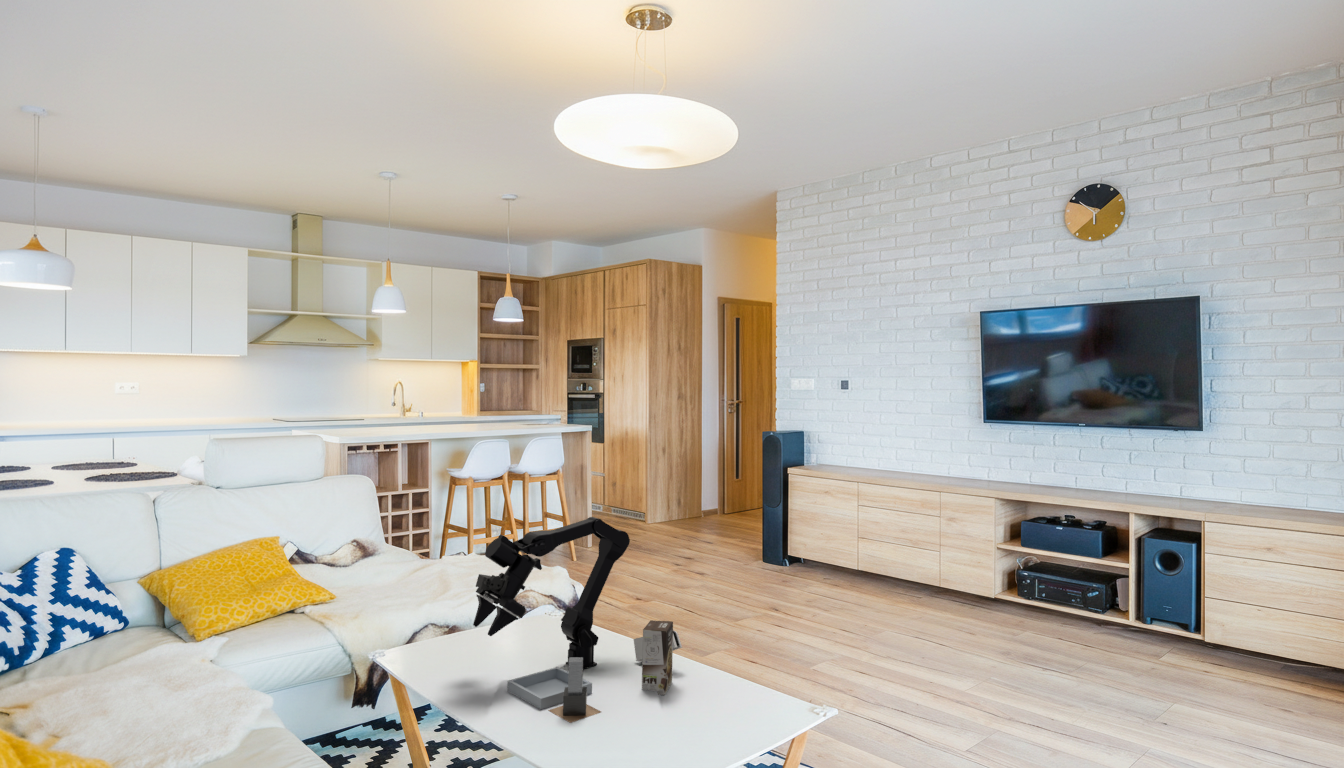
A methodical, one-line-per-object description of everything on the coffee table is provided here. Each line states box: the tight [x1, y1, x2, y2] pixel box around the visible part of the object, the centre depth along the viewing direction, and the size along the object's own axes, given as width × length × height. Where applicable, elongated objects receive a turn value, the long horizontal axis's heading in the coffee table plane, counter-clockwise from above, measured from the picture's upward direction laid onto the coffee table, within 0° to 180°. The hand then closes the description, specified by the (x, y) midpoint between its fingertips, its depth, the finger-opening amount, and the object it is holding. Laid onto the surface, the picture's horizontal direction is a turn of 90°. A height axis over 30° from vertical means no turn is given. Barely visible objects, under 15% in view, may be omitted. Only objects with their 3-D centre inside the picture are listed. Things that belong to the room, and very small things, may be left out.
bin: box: [506, 666, 593, 710], centre depth 192 cm, size 15×15×4 cm
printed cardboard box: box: [633, 629, 683, 662], centre depth 212 cm, size 4×10×15 cm
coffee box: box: [641, 620, 674, 696], centre depth 198 cm, size 9×6×16 cm
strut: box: [562, 657, 588, 716], centre depth 181 cm, size 5×5×12 cm
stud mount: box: [547, 704, 602, 724], centre depth 180 cm, size 9×9×4 cm
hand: (481, 630), depth 196 cm, fingers open, 9 cm apart
